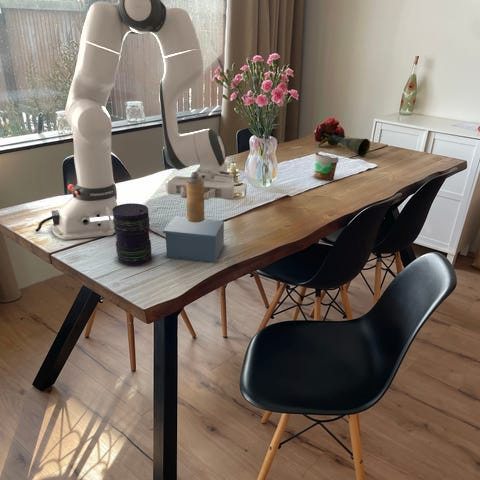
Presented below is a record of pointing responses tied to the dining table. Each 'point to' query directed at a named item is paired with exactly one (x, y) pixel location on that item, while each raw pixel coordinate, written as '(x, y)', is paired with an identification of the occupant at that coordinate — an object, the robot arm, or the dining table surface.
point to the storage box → (195, 247)
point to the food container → (324, 167)
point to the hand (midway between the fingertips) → (194, 196)
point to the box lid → (194, 227)
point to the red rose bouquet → (340, 137)
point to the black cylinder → (132, 234)
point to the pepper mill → (195, 198)
